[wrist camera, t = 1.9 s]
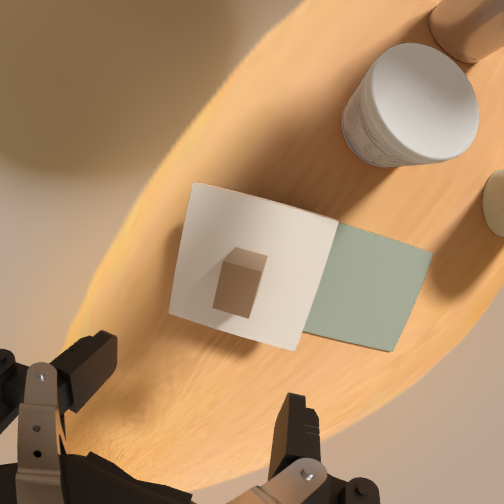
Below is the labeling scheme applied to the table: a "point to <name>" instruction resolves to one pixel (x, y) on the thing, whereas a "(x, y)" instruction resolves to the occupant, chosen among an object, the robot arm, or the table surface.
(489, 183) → the can
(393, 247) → the mat
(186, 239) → the lid
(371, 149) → the supplement tub
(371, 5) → the table surface
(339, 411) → the table surface
